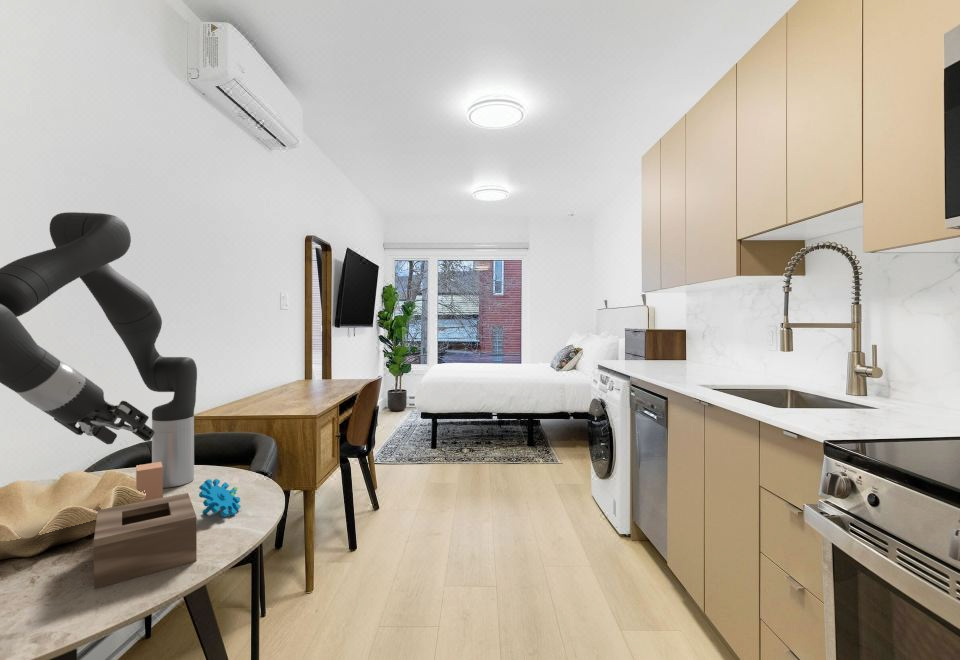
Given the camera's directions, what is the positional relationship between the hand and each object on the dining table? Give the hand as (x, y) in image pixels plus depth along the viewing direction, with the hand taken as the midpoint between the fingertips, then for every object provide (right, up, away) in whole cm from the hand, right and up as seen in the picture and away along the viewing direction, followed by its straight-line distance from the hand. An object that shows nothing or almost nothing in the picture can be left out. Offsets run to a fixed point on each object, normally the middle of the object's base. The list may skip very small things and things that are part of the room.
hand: (131, 438), depth 88 cm
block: (-3, -20, +8) cm, 22 cm away
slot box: (+7, -20, -6) cm, 22 cm away
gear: (+10, -20, +13) cm, 26 cm away
